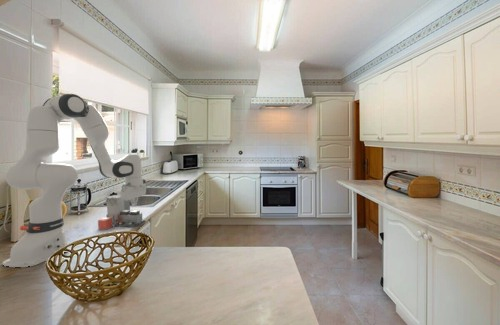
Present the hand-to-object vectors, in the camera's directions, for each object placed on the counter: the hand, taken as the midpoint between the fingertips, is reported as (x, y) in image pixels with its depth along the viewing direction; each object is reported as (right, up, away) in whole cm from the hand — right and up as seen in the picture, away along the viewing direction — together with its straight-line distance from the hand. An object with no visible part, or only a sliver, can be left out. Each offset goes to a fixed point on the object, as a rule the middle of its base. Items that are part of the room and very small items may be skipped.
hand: (134, 205), depth 149 cm
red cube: (-14, -12, -5) cm, 19 cm away
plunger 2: (0, -10, +2) cm, 10 cm away
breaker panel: (-3, -11, +2) cm, 12 cm away
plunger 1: (-6, -10, +2) cm, 12 cm away
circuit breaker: (-14, -11, +11) cm, 21 cm away
